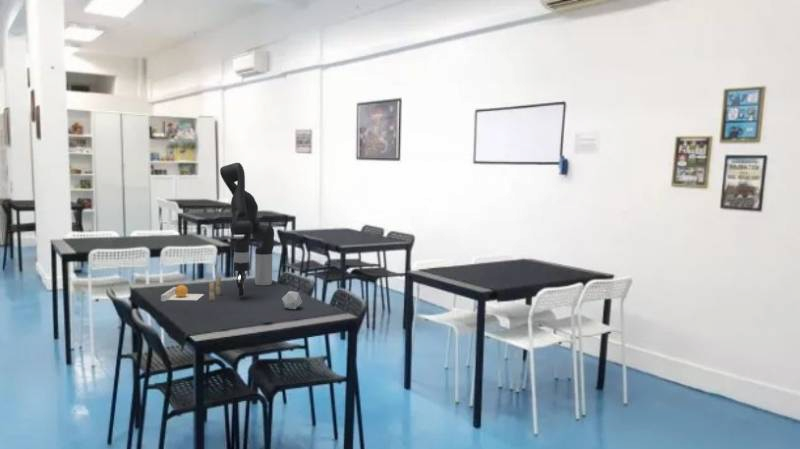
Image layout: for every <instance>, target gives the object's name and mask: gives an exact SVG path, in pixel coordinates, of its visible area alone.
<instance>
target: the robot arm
mask: <svg viewBox="0 0 800 449" xmlns="http://www.w3.org/2000/svg"><path fill="white" fill-rule="evenodd" d="M219 173H220V177H221V179H222V181H223V182H224V184H225V186H226V187H227V188H228V190H229V191H230V193H231V195H232V197H231V201H230V206H231V214H232V215H231V216H232V218H231V225H230V232H231V234H233V235H234V236H243V237H242V238H240V239H236V240H235V241H234V247H233V251H234V253H233V271H235V272H237V274H236V286H237V289H238V296H239V297H243V296H244V295H245V286H246V281H247V273H246V272H248V271H249V270H250V241H251V236H252V238H253V240H255V241H258V242H262V245H261V246H258V247H257V248H255V251H254V252H255V253H254V254H255V255H254V258H255V260H254V261H255V262H254V269H255V270H254V271H255V273H254V279H255V280H254V284H255V286H270V285H271V286H272V284H273V249H274V245H275V244H274V242H275V229H274V227H273V226H272V225H269V224H261V223H260V221H259V220H258V218H257V215H258V210H259V206H258V203H257V201H256V199H255V197H254V196H253V195H252V194H251V193H250V192H249V191H247V190H246V176H245V170H244V166H243V165H242V164H241V163H240V162H234V163H231V164H228V165H223V166H222V167H220V169H219ZM236 182H237V183H236ZM241 219H244V220H241Z"/></svg>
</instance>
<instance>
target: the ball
mask: <svg viewBox="0 0 800 449" xmlns="http://www.w3.org/2000/svg"><path fill="white" fill-rule="evenodd" d="M175 287H176V289H175V294H176V295H177V296H178V297H184V296H186V295H187V294H189V293H188V292H189V289H188V287H187V286H186V285H184V284H181V285H180V284H179V285H177V286H175Z"/></svg>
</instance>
